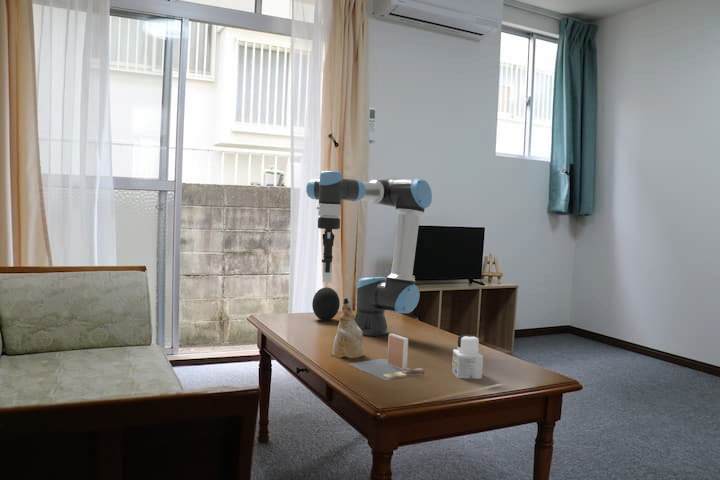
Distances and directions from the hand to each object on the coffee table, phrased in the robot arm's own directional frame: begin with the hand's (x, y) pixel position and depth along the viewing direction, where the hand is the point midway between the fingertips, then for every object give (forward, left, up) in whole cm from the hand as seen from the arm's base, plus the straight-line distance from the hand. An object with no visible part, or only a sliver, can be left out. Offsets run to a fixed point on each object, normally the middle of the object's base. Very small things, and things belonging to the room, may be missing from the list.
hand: (326, 279), depth 191 cm
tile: (-14, +23, -26) cm, 37 cm away
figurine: (-8, +3, -27) cm, 28 cm away
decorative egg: (-34, -52, -27) cm, 68 cm away
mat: (-9, +23, -27) cm, 36 cm away
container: (-28, +40, -27) cm, 56 cm away
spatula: (-9, +31, -26) cm, 41 cm away
